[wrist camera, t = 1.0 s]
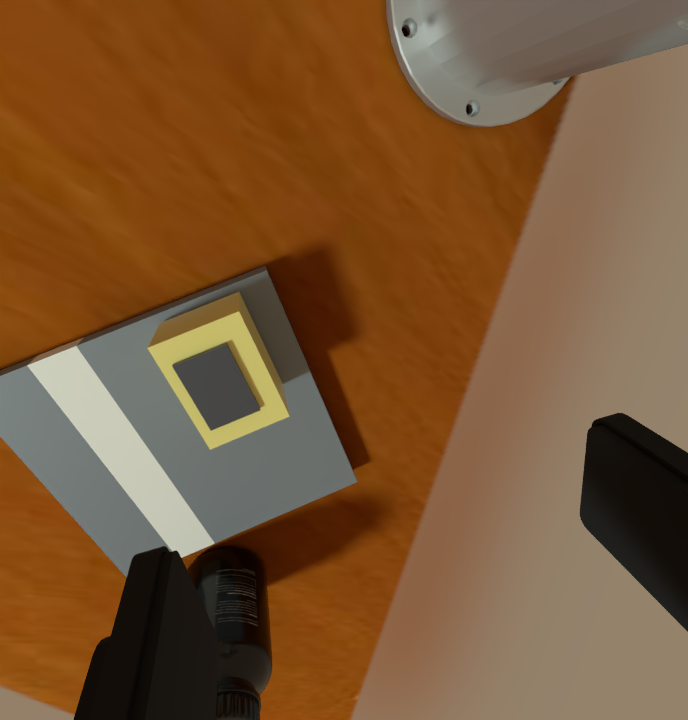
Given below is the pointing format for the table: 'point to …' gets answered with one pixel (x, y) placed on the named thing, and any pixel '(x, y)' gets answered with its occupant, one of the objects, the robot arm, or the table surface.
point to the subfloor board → (166, 436)
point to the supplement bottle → (237, 627)
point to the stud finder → (220, 370)
